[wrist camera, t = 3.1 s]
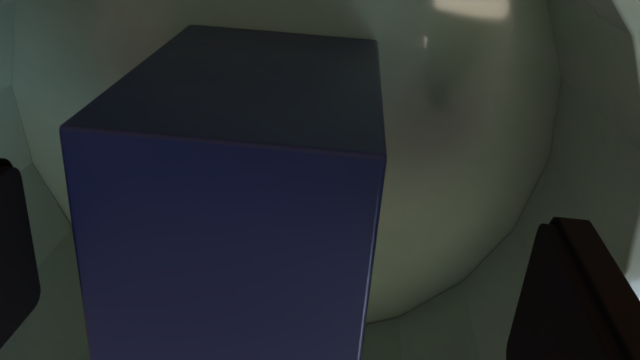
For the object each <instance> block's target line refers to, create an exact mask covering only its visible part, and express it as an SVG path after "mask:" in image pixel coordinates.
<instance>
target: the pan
mask: <svg viewBox="0 0 640 360" xmlns="http://www.w3.org/2000/svg"><path fill="white" fill-rule="evenodd" d="M189 25H202V26H214V27H226V28H238V29H250V30H262V31H274V32H286V33H298V34H310V35H322V36H334V37H346V38H358V39H370V40H376V41H377V42H378V49H379V61H380V74H381V87H382V100H383V113H384V126H385V139H386V151H387V163H386V171H385V178H384V186H383V194H382V202H381V209H380V217H379V225H378V233H377V241H376V248H375V256H374V264H373V272H372V279H371V287H370V295H369V303H368V310H367V318H366V326H365V334H364V342H363V349H362V357H361V360H506V347H507V342H508V338H509V334H510V330H511V327H512V323H513V319H514V315H515V311H516V308H517V304H518V300H519V296H520V293H521V289H522V285H523V281H524V278H525V274H526V270H527V266H528V262H529V259H530V255H531V251H532V247H533V244H534V240H535V236H536V232H537V229H538V227H539V225H540V224H541V223H543V224H549V222H550V221H551V219H552V218H553V217H554V216H555V217H564V218H574V219H583V220H589V221H590V222H591V223H592V225H593V226H594V228H595V230H596V231H597V233H598V234H599V236H600V238H601V239H602V241H603V242H604V244H605V246H606V247H607V249H608V250H609V252H610V254H611V255H612V257H613V258H614V260H615V262H616V263H617V265H618V267H619V268H620V270H621V271H622V273H623V275H624V276H625V278H626V279H627V281H628V283H629V284H630V286H631V287H632V289H633V291H634V292H635V294H636V295H637V297H638V299H639V300H640V0H0V158H5V159H8V160H9V161H10V162H11V164H12V165H13V167H16V168H17V169H19V171H20V173H21V176H22V181H23V187H24V193H25V199H26V205H27V211H28V217H29V223H30V228H31V234H32V240H33V246H34V252H35V258H36V264H37V270H38V275H39V281H40V288H41V292H40V298H39V301H38V304H37V306H36V307H35V309H34V310H33V311H32V312H31V313H30V315H29V316H28V317H27V318H26V319H25V321H24V322H23V323H22V324H21V325H20V326H19V328H18V329H17V330H16V331H15V332H14V334H13V335H12V336H11V337H10V338H9V340H8V341H7V342H6V343H5V344H4V345H3V347H2V348H1V349H0V360H90V354H89V347H88V340H87V332H86V325H85V318H84V310H83V303H82V296H81V288H80V281H79V274H78V266H77V259H76V252H75V245H74V237H73V230H72V223H71V215H70V208H69V201H68V193H67V186H66V179H65V171H64V164H63V157H62V150H61V142H60V135H59V128H60V125H61V124H63V123H64V122H65V121H67V120H68V119H69V118H70V117H72V116H73V115H74V114H76V113H77V112H78V111H79V110H81V109H82V108H83V107H85V106H86V105H87V104H88V103H90V102H91V101H92V100H94V99H95V98H96V97H97V96H99V95H100V94H101V93H103V92H104V91H105V90H106V89H108V88H109V87H110V86H112V85H113V84H114V83H115V82H117V81H118V80H119V79H121V78H122V77H123V76H124V75H126V74H127V73H128V72H129V71H131V70H132V69H133V68H135V67H136V66H137V65H138V64H140V63H141V62H142V61H144V60H145V59H146V58H147V57H149V56H150V55H151V54H153V53H154V52H155V51H156V50H158V49H159V48H160V47H162V46H163V45H164V44H165V43H167V42H168V41H169V40H171V39H172V38H173V37H174V36H176V35H177V34H178V33H180V32H181V31H182V30H183V29H185V28H186V27H187V26H189Z"/></svg>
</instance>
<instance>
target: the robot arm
mask: <svg viewBox="0 0 640 360" xmlns="http://www.w3.org/2000/svg"><path fill="white" fill-rule="evenodd" d="M40 292H41V288H40V281H39V275H38V270H37V264H36V258H35V252H34V246H33V240H32V234H31V228H30V223H29V217H28V211H27V205H26V199H25V193H24V187H23V181H22V176H21V173H20V171H19V169H17V168H16V167H13V165H12V164H11V162H10V161H9V160H8V159H5V158H0V349H1V348H2V347H3V345H4V344H5V343H6V342H7V341H8V340H9V338H10V337H11V336H12V335H13V334H14V332H15V331H16V330H17V329H18V328H19V326H20V325H21V324H22V323H23V322H24V321H25V319H26V318H27V317H28V316H29V315H30V313H31V312H32V311H33V310H34V309H35V307H36V306H37V304H38V301H39V298H40ZM506 360H640V300H639V299H638V297H637V295H636V294H635V292H634V291H633V289H632V287H631V286H630V284H629V283H628V281H627V279H626V278H625V276H624V275H623V273H622V271H621V270H620V268H619V267H618V265H617V263H616V262H615V260H614V258H613V257H612V255H611V254H610V252H609V250H608V249H607V247H606V246H605V244H604V242H603V241H602V239H601V238H600V236H599V234H598V233H597V231H596V230H595V228H594V226H593V225H592V223H591V222H590V221H589V220H583V219H574V218H564V217H555V216H554V217H553V218H552V219H551V221H550V222H549V224H543V223H541V224H540V225H539V227H538V229H537V232H536V236H535V240H534V244H533V247H532V251H531V255H530V259H529V262H528V266H527V270H526V274H525V278H524V281H523V285H522V289H521V293H520V296H519V300H518V304H517V308H516V311H515V315H514V319H513V323H512V327H511V330H510V334H509V338H508V342H507V347H506Z"/></svg>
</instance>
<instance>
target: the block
mask: <svg viewBox="0 0 640 360" xmlns="http://www.w3.org/2000/svg"><path fill="white" fill-rule="evenodd" d="M59 135H60V142H61V150H62V157H63V164H64V171H65V179H66V186H67V193H68V201H69V208H70V215H71V223H72V230H73V237H74V245H75V252H76V259H77V266H78V274H79V281H80V288H81V296H82V303H83V310H84V318H85V325H86V332H87V340H88V347H89V354H90V360H361V357H362V349H363V342H364V334H365V326H366V318H367V310H368V303H369V295H370V287H371V279H372V272H373V264H374V256H375V248H376V241H377V233H378V225H379V217H380V209H381V202H382V194H383V186H384V178H385V171H386V163H387V151H386V139H385V126H384V113H383V100H382V87H381V74H380V61H379V49H378V42H377V41H376V40H370V39H358V38H346V37H334V36H322V35H310V34H298V33H286V32H274V31H262V30H250V29H238V28H226V27H214V26H202V25H189V26H187V27H186V28H185V29H183V30H182V31H181V32H180V33H178V34H177V35H176V36H174V37H173V38H172V39H171V40H169V41H168V42H167V43H165V44H164V45H163V46H162V47H160V48H159V49H158V50H156V51H155V52H154V53H153V54H151V55H150V56H149V57H147V58H146V59H145V60H144V61H142V62H141V63H140V64H138V65H137V66H136V67H135V68H133V69H132V70H131V71H129V72H128V73H127V74H126V75H124V76H123V77H122V78H121V79H119V80H118V81H117V82H115V83H114V84H113V85H112V86H110V87H109V88H108V89H106V90H105V91H104V92H103V93H101V94H100V95H99V96H97V97H96V98H95V99H94V100H92V101H91V102H90V103H88V104H87V105H86V106H85V107H83V108H82V109H81V110H79V111H78V112H77V113H76V114H74V115H73V116H72V117H70V118H69V119H68V120H67V121H65V122H64V123H63V124H61V125H60V128H59Z"/></svg>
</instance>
